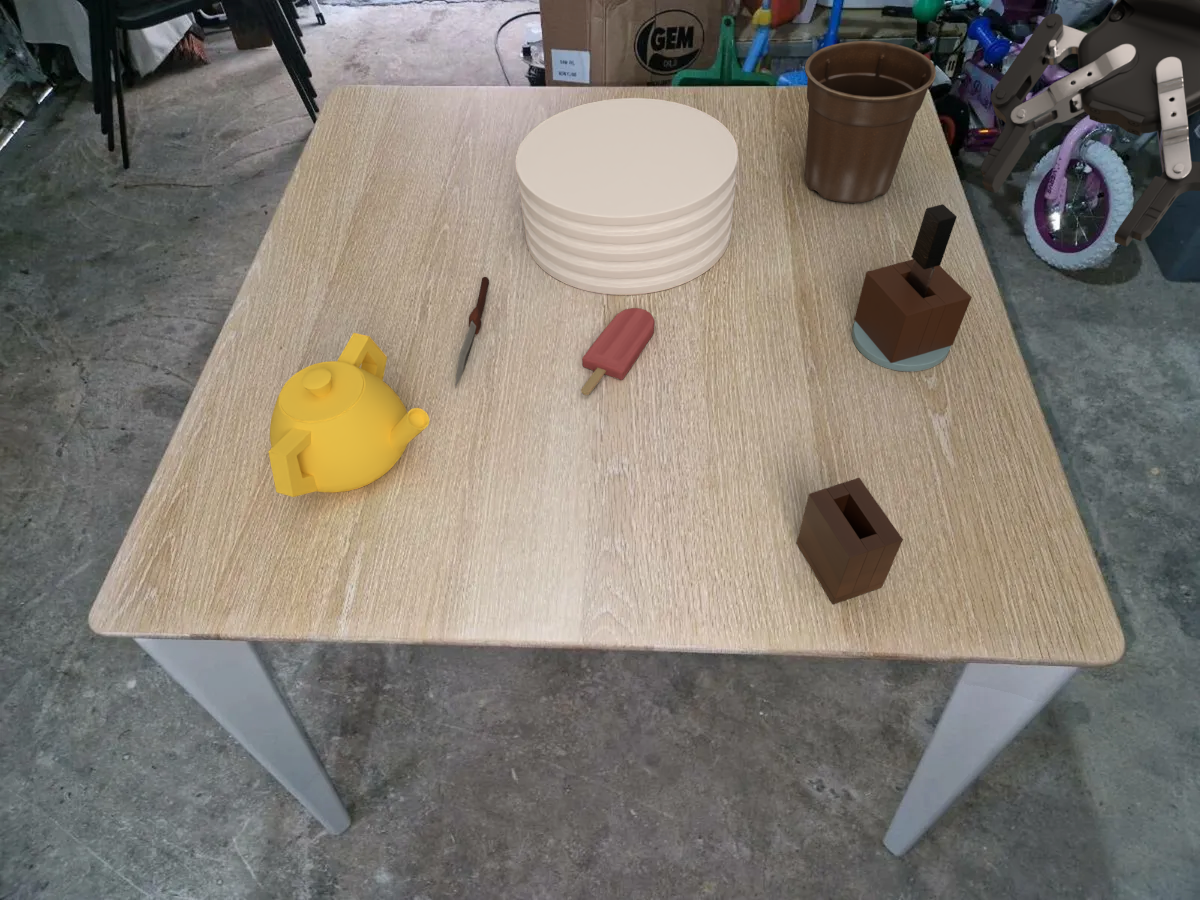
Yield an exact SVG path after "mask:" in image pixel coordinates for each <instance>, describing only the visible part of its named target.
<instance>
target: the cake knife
mask: <svg viewBox="0 0 1200 900" xmlns="http://www.w3.org/2000/svg"><path fill="white" fill-rule="evenodd" d="M922 217H923V218H922V220H921V224H920V227H919V230H918V233H917V237H916V241H915V242H914V243H915V244H914V246H913V250H912V253H911V258H912V259H914V263H913V266H912V270H911V273H910V276H909V279H908V283H909V284H910V285H911V286H912V287H913V288H914V289H915V290H916V292H917V293H918V294H919V295H920V296H921V297H922V298H925V297H926V294H927V291H928V288H929V285H930V282H931V279H932V276H933V273H934V270H935V269H934V268H933V267H935V266H939V265H940V266H941V264H942V261H943V259H944V255H945V253H946V250H947V247H948V244H949V241H950V237H951V234H952V232H953V229H954V227H955V223H956V221H957V218H958V217H957V215H956V214H955V213H954V212H953V211H951V210H950V209H949V208H948V207H947V206H946V205H945V204H943V203H942V204H937V205H934V206H930V207H926V208H925V211H924V214H923V216H922Z"/></svg>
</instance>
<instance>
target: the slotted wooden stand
mask: <svg viewBox="0 0 1200 900" xmlns="http://www.w3.org/2000/svg"><path fill="white" fill-rule="evenodd" d="M913 263H914V259H913V258H912V259H908V260H905V261H901V262H897V263H893V264H890V265H886V266H883V267H879V268H875V269H872V270H868V271H866V272H865V276H864V280H863V283H862V287H861V291H860V295H859V299H858V301H857V302H858V303H857V306H856V311H855V314H854V318H853V320H854V322H853V326H852V330H851V337H852V338H851V339H852V341H853V344H854V345H855V348H856V349H857V351H858V352H859V353H860V354H861V355H862V356H863V357H865V358H866V359H867V360H869V361H870V362H871V363H873V364H876V365H878V366H880V367H882V368H886V369H888V370H893V371H896V372H897V371H898V372H910V373H911V372H923V371H926V370H929V369H932V368H934V367H936V366H938V365H939V364H941V363H942V362H943V361H944V360H945V359H946V358H947V357H948V355H949V352H950V350H951V347H952V346H953V345H954V343H955V340H956V339H957V336H958V333H959V330H960V328H961V325H962V324H963V323H962V322H963V320H964V318H965V316H966V313H967V310H968V308H969V305H970V303H971V300H972V296H971V294H969V293H968V292H967V291H966V290H965V289H964V288H963V287H962V286H961V285H960V284H959V283H958V282H957V281H956V280H955V279H954V278H953V277H952V276H951V275H950V274H949V273H948V272H947V271H946V270H945V269H944V268H943V267H942V266H941V264H940V265H939V266H935V267H933V268H934V269H935V270H934V273H933V276H932V279H931V282H930V285H929V288H928V291H927V294H926V297H925V298H922V297H921V296H920V295H919V294H918V293H917V292H916V290H915V289H914V288H913V287H912V286H911V285H910V284H909V283H908V279H909V276H910V273H911V270H912V266H913Z"/></svg>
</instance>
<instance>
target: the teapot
mask: <svg viewBox="0 0 1200 900" xmlns="http://www.w3.org/2000/svg"><path fill="white" fill-rule="evenodd" d="M387 360H388V356H387V355H386V354H385V352H383V350H382V349H381V348H380V347H379V346H378V344H377V343H376V342H375V341H374V340H373V338H372V337H371V336H370V335H366V334H361V333H357V332H352V335H351V336H350V338H349V340H348V342H347V343H346V345H345V347H344V348H343V350H342V352H341V354H340V355H339V356H338V358H337V360H329V361H322V362H316V363H314V364H310V365H308V366H305V367H304V368H302V369H300V370H298V371H297V372H296V373H294V374H293V375H292V376H291V377H290V378H289V379H288V380H287V381H285V384H284V385H282V388H281V390H280V391H279V393H278V395H277V398H276V400H275V404H274V407H273V410H272V414H271V418H270V423H269V425H270V426H269V441H270V449H269V450H268V451H267V452H268V456H269V462H270V467H271V472H272V477H273V483H274V488H275V492H276V493H277V494H280V495H284V496H288V497H292V498H296V497H300V496H303V495H306V494H311V493H314V492H318V493H331V494H333V493H335V494H336V493H345V492H350V491H354V490H357V489H361V488H363V487H366V486H368V485H370V484H373V483H374V482H375V481H377V480H379V479H381V478H382V477H383V476H384V475H386V474H387V473H388V472H389V471H390V470H391V469H392V468H393V467H394V466H395V465H396V463H397V462H398V461H399V460H400V459H401V457H402V455H403V454H404V453H405V450H406V448H407V447H408V444H409V443H410V442H411V441H412V440H414V439H415V438H416V437H417V436H418V435H420V434H421V433H422V432H423V431H424V430H425V429H427V428H428V426H429V424H430V416H429V414H428V413H427V411H425V409H423V408H420V407H413V408H411V409H409V410H407V408H406V406H405V404H404V403H403V401H402V400H401V398H400V397H399V395H398V394H397V393H396V392H395V390H394V389H393V388H392V387H390V385H389V384H387V383H386V382H385V381H384V376H385V372H386V366H387Z"/></svg>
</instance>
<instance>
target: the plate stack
mask: <svg viewBox="0 0 1200 900" xmlns="http://www.w3.org/2000/svg"><path fill="white" fill-rule="evenodd" d="M738 159H739V150H738V144H737V142H736V140H735V138H734V136H733V134H732V133H731V131H730V130H729V129H728V128H727V127H726V126H725V125H724V124H723V123H722V122H721V121H719V120H718V119H717V118H715V117H714V116H712V115H710V114H708V113H707V112H705V111H703V110H700V109H698V108H696V107H692V106H689V105H687V104H684V103H679V102H676V101H671V100H666V99H665V100H664V99H657V98H646V97H626V98H625V97H623V98H611V99H603V100H597V101H592V102H587V103H584V104H580V105H577V106H573V107H570V108H568V109H565V110H562V111H560V112H557V113H556V114H554V115H552V116H550V117H548V118H546V119H544V120H543V121H541V122H540V123H539V124H537V125H535V126H534V127H533V128H532V129H531V130H530V131H529V132H528V133H527V134H526V135H525V136H524V137H523V139H522V140H521V142H520V144H519V146H518V148H517V151H516V154H515V171H516V176H517V185H518V191H519V197H520V205H521V211H522V218H523V219H522V220H523V226H524V230H525V231H524V232H525V239H526V245H527V250H528V252H529V254H530V256H531V257H532V259H533V260H534V262H535V263H536V264H537V265H538V266H539V267H540V269H541V270H543V271H544V272H545V273H546V274H548V275H549V276H550V277H552V278H554V279H555V280H557V281H558V282H561V283H563V284H565V285H567V286H570V287H573V288H575V289H579V290H582V291H586V292H591V293H595V294H603V295H612V296H613V295H614V296H630V295H631V296H633V295H634V296H635V295H647V294H652V293H657V292H662V291H666V290H669V289H673V288H677V287H679V286H682V285H683V284H687V283H688V282H691V281H692V280H695V279H697V278H699V277H700V276H702V275H703V274H705V273H706V272H707V271H709V270H710V269H712V267H714V266H715V265H716V264H717V263H718V262H719V261H720V259H721V258H722V257H723V256H724V254H725V252H726V250H727V249H728V246H729V244H730V241H731V236H732V225H733V215H734V203H735V194H736V190H735V188H736V181H737V168H738V162H739V160H738Z"/></svg>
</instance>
